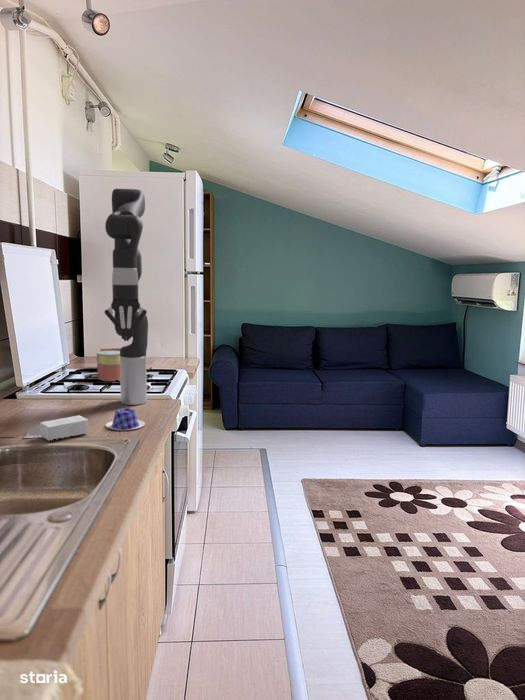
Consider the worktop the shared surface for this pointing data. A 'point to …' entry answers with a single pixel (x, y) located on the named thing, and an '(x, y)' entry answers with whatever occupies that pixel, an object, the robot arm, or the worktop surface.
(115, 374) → the canned food
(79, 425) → the skincare box
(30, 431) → the mat
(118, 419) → the pudding
